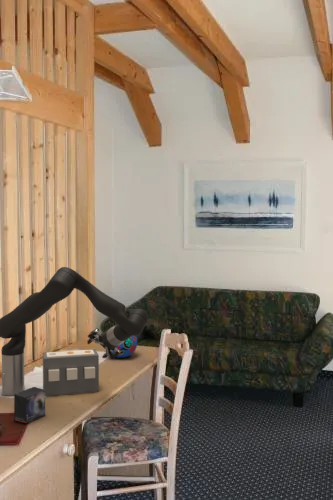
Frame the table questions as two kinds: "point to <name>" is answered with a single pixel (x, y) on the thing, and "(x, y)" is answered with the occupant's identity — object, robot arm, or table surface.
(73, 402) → the table surface
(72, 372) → the middle button
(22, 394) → the small box
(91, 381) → the control panel
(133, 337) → the ceramic pot
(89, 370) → the right button
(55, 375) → the left button
